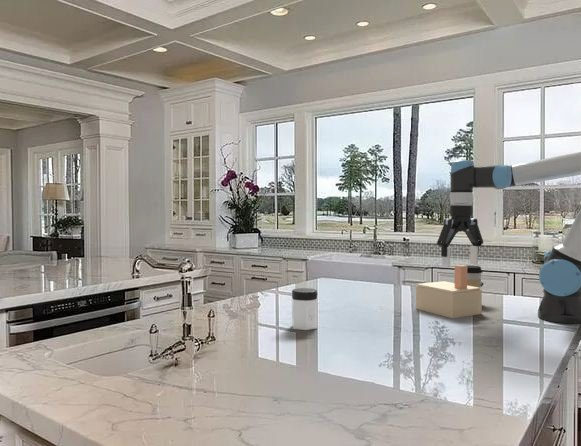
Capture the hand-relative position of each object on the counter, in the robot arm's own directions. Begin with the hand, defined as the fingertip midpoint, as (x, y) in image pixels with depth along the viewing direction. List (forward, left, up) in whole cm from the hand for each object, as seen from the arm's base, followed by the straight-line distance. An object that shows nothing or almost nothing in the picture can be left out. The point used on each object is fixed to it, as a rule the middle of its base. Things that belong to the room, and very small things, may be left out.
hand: (460, 265), depth 173 cm
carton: (+6, 0, -18) cm, 19 cm away
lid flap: (+6, 0, -9) cm, 11 cm away
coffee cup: (+13, -19, -18) cm, 29 cm away
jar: (+13, +56, -18) cm, 60 cm away
